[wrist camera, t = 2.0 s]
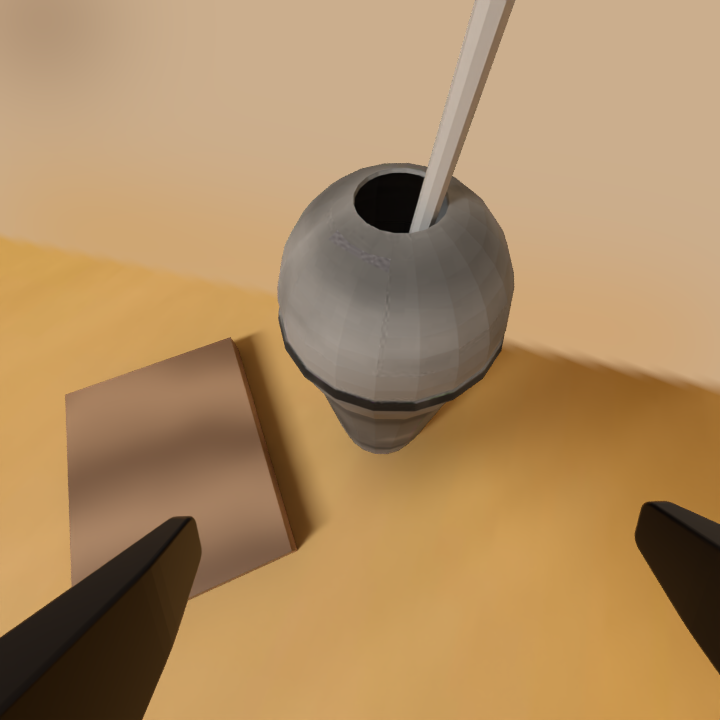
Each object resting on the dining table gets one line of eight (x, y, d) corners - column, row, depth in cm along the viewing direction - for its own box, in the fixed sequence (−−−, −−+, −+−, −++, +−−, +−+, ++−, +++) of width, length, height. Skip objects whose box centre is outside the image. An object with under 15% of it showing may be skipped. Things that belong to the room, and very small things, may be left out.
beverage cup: (356, 345, 24) (320, -220, 6) (459, 392, 22) (815, -201, 5) (298, 441, 21) (-79, -99, 3) (411, 503, 19) (858, 75, 2)
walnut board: (297, 550, 19) (291, 550, 17) (97, 641, 17) (73, 650, 16) (238, 348, 24) (230, 337, 23) (83, 403, 23) (65, 394, 21)
